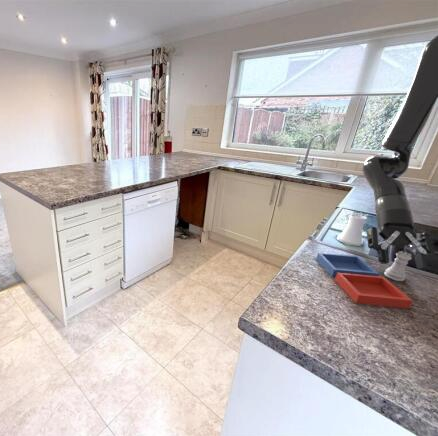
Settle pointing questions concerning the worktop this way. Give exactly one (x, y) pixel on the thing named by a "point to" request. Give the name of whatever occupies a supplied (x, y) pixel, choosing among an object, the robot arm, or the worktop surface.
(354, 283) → the red tray
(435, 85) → the robot arm
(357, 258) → the blue tray
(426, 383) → the worktop surface
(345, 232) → the vase
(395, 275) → the rook chess piece
